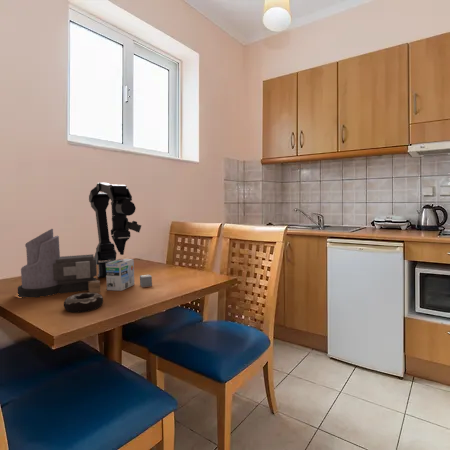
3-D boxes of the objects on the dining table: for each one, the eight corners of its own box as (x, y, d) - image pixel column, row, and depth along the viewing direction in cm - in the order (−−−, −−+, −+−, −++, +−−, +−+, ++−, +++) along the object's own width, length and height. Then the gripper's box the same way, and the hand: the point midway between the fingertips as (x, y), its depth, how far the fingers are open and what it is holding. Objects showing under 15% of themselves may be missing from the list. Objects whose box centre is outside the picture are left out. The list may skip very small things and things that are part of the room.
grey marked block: (140, 285, 131) (139, 275, 131) (150, 284, 133) (149, 274, 133) (142, 287, 128) (141, 277, 127) (152, 286, 129) (151, 276, 129)
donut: (95, 300, 112) (95, 289, 111) (109, 308, 103) (108, 295, 103) (59, 308, 104) (58, 295, 104) (70, 317, 95) (69, 303, 95)
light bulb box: (121, 291, 122) (120, 263, 122) (106, 290, 124) (104, 263, 123) (135, 284, 133) (134, 258, 132) (120, 283, 134) (119, 258, 133)
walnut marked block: (88, 291, 123) (88, 280, 123) (99, 290, 125) (99, 279, 125) (89, 294, 120) (88, 283, 119) (100, 292, 121) (99, 281, 121)
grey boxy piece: (9, 300, 113) (4, 231, 112) (19, 289, 128) (15, 228, 127) (99, 290, 124) (97, 227, 122) (100, 281, 139) (97, 225, 137)
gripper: (142, 215, 125) (144, 254, 126) (136, 214, 143) (137, 249, 144) (112, 216, 121) (114, 257, 122) (109, 215, 138) (111, 251, 139)
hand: (120, 253), depth 132 cm, fingers open, 9 cm apart
